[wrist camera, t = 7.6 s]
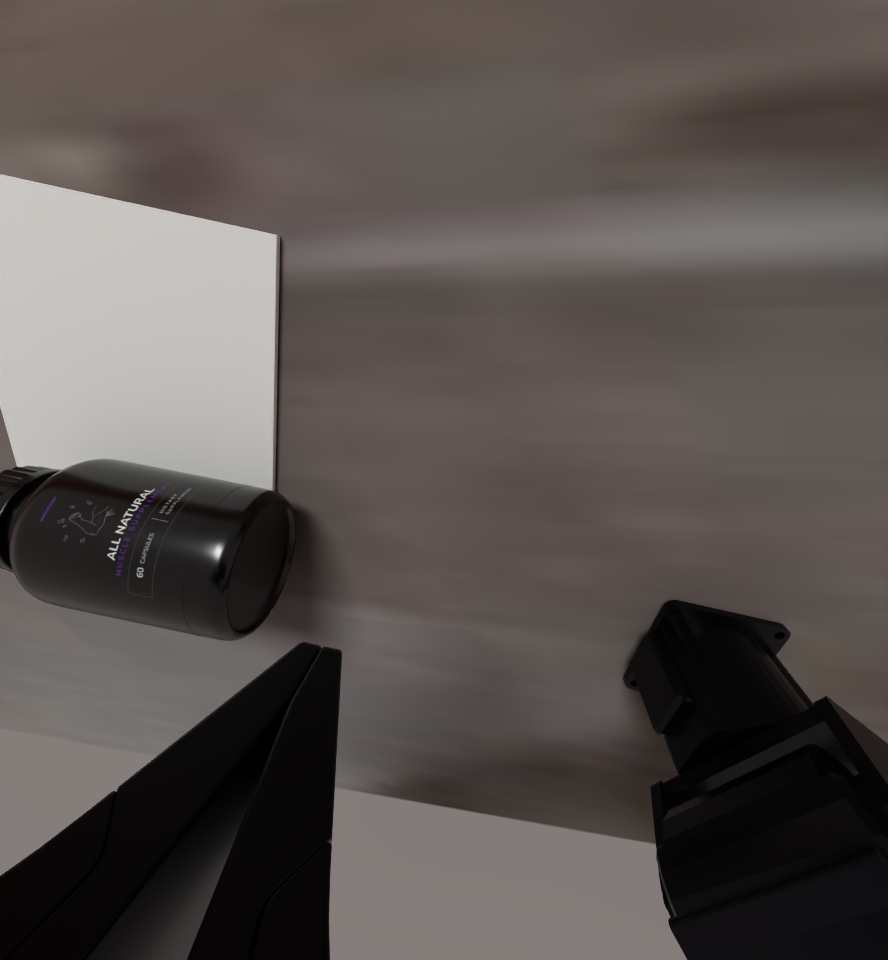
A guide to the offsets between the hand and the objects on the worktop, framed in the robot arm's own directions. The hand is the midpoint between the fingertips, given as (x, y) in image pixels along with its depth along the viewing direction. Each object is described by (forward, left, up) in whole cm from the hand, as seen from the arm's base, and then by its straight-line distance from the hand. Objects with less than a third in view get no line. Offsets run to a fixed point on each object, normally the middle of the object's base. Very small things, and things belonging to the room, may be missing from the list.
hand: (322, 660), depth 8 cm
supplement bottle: (+5, +6, -9) cm, 12 cm away
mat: (+14, +3, -13) cm, 19 cm away
